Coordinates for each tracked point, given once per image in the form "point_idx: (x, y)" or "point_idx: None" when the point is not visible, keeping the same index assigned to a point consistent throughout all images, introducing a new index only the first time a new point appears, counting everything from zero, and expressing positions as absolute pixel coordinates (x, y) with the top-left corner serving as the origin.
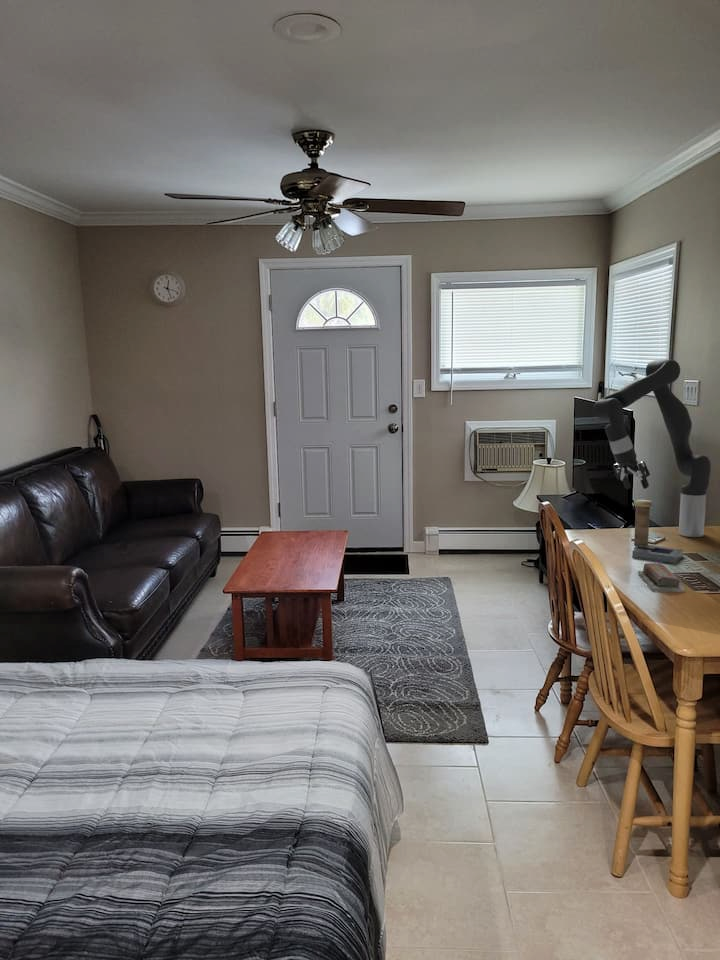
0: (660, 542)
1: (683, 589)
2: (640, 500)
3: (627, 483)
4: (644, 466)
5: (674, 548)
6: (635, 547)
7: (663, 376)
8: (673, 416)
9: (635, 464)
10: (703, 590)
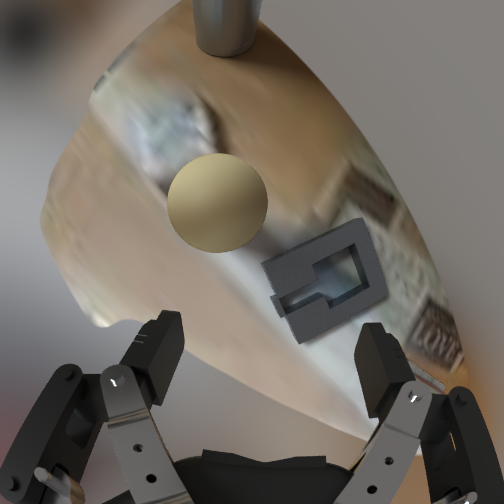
0: (230, 145)
1: (443, 387)
2: (190, 193)
3: (169, 359)
4: (482, 486)
5: (345, 226)
6: (280, 312)
7: None
8: None
9: None
10: (456, 358)
